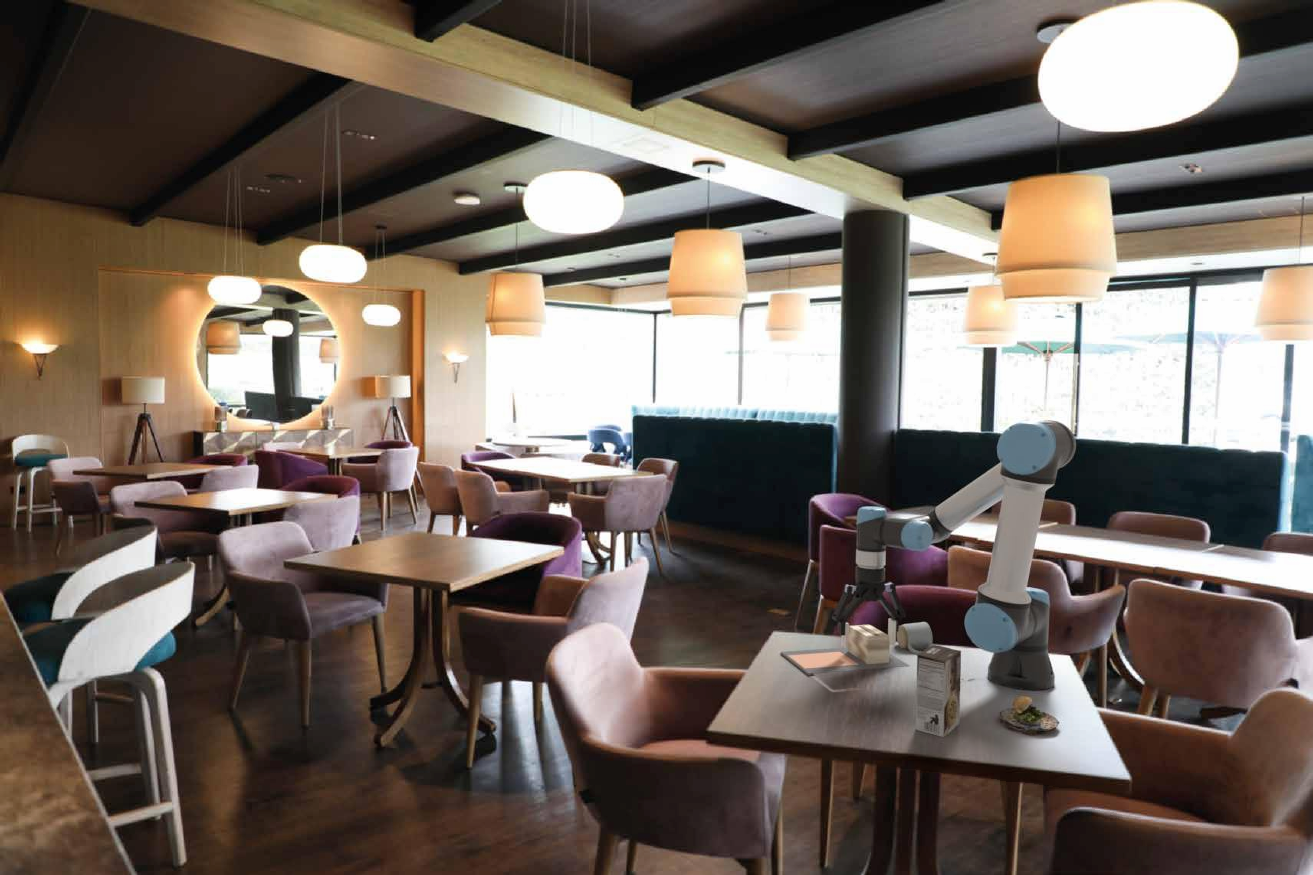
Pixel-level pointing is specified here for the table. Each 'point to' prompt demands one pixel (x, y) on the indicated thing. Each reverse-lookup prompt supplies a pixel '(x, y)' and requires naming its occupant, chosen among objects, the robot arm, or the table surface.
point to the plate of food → (1026, 718)
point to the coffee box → (938, 690)
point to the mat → (834, 661)
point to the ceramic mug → (914, 636)
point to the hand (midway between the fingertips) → (868, 645)
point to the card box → (869, 644)
